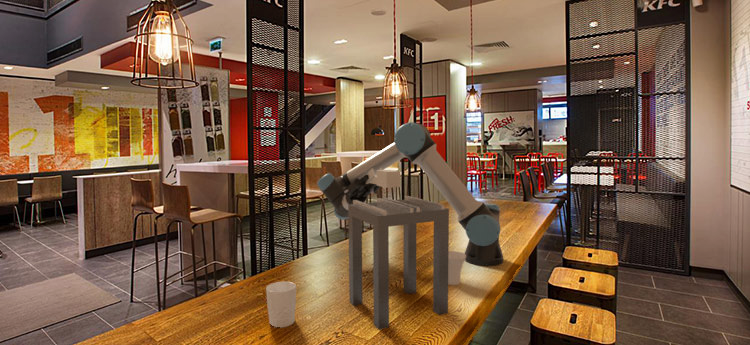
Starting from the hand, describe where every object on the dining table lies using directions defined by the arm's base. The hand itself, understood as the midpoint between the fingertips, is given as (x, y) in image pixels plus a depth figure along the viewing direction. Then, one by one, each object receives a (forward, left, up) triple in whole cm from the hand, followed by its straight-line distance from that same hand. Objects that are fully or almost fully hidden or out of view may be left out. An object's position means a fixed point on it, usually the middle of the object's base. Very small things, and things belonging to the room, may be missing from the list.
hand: (377, 172), depth 137 cm
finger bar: (-1, +2, -4) cm, 4 cm away
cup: (-26, -3, -38) cm, 46 cm away
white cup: (+21, +34, -38) cm, 56 cm away
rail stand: (-9, +20, -38) cm, 44 cm away
